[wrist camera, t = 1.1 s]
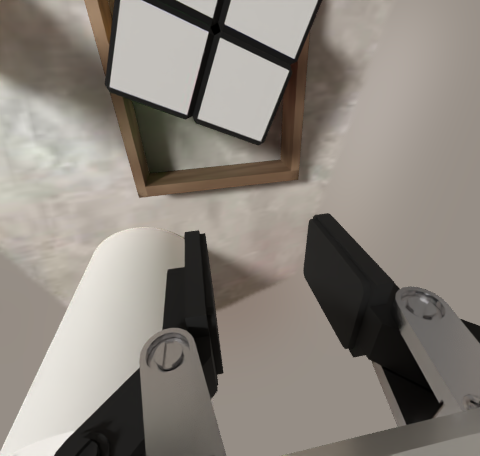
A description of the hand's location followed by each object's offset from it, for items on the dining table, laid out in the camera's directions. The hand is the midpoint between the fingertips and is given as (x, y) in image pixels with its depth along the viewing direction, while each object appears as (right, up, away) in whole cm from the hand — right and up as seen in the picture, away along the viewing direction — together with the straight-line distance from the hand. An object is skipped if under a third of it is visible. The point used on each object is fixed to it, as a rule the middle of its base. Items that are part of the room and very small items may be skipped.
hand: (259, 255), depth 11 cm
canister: (-13, -4, +24) cm, 27 cm away
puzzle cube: (-4, +17, +12) cm, 21 cm away
